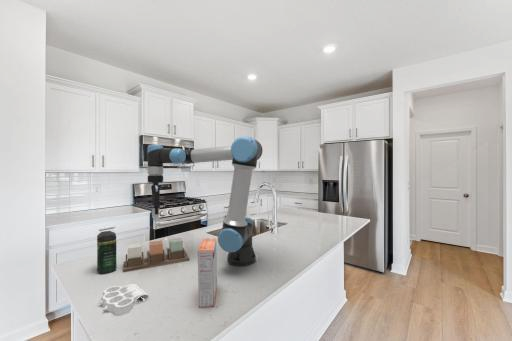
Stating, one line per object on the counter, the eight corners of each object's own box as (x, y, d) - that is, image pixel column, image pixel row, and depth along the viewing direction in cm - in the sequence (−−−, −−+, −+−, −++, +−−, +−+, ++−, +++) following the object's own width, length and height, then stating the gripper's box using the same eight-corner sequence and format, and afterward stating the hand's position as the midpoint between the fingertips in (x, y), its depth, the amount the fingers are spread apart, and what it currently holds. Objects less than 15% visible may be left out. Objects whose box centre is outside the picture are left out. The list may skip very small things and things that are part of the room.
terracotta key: (162, 255, 124) (162, 243, 124) (150, 257, 122) (150, 245, 121) (161, 251, 130) (161, 240, 130) (149, 253, 127) (149, 241, 127)
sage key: (182, 251, 129) (182, 240, 129) (170, 253, 126) (170, 242, 126) (180, 248, 134) (180, 237, 134) (169, 250, 131) (169, 239, 131)
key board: (189, 260, 129) (189, 250, 128) (123, 272, 114) (122, 260, 114) (185, 254, 137) (185, 244, 137) (123, 264, 123) (123, 253, 123)
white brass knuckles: (152, 303, 89) (107, 322, 79) (133, 287, 101) (92, 301, 91) (152, 294, 89) (107, 312, 78) (133, 279, 101) (92, 292, 91)
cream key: (141, 258, 120) (141, 246, 120) (127, 260, 117) (127, 248, 117) (141, 254, 125) (140, 243, 125) (128, 256, 122) (127, 244, 122)
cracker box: (202, 288, 100) (202, 238, 99) (217, 287, 100) (217, 237, 100) (197, 308, 86) (197, 250, 85) (214, 307, 86) (214, 249, 86)
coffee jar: (118, 271, 116) (117, 232, 115) (98, 275, 111) (97, 235, 110) (114, 264, 123) (114, 228, 123) (96, 268, 118) (95, 231, 118)
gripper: (146, 174, 132) (146, 216, 132) (148, 175, 114) (149, 223, 115) (161, 174, 135) (161, 215, 136) (165, 175, 118) (165, 222, 118)
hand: (155, 219), depth 125 cm, fingers open, 6 cm apart
